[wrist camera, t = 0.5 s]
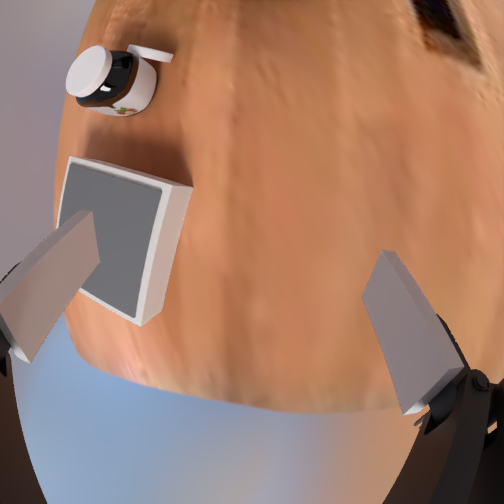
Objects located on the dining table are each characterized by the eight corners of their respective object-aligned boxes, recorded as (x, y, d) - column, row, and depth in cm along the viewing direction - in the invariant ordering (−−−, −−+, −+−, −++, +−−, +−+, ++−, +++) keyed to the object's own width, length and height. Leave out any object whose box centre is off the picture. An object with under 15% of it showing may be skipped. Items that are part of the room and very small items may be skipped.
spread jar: (105, 121, 34) (52, 105, 23) (119, 60, 32) (75, 33, 21) (170, 113, 33) (121, 86, 21) (183, 46, 30) (145, 6, 19)
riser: (96, 159, 36) (67, 155, 30) (193, 187, 34) (170, 185, 28) (76, 265, 40) (50, 273, 34) (161, 310, 38) (139, 328, 32)
